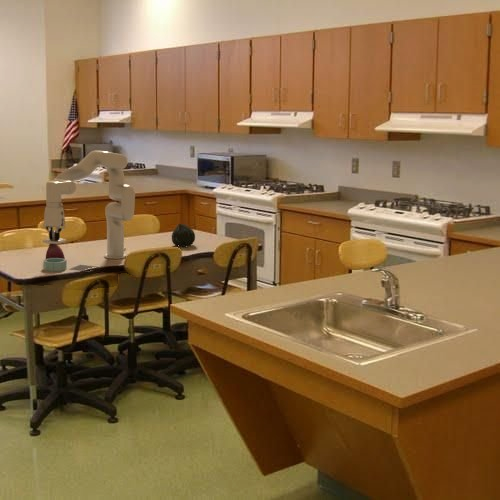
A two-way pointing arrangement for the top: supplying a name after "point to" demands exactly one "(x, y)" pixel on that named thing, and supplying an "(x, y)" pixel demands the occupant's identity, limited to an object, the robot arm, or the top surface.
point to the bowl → (54, 264)
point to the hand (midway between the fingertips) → (54, 239)
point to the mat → (81, 267)
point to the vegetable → (54, 252)
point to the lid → (54, 239)
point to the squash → (183, 235)
